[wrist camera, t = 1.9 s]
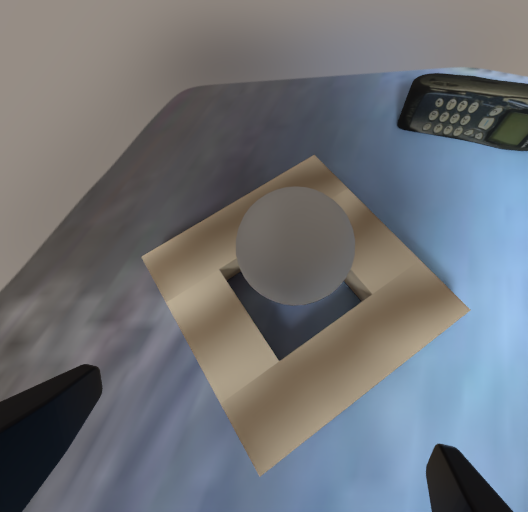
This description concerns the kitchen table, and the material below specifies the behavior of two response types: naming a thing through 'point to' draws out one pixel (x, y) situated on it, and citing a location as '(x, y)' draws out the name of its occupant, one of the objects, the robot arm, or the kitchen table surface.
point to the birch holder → (318, 347)
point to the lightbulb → (295, 246)
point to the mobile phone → (468, 110)
